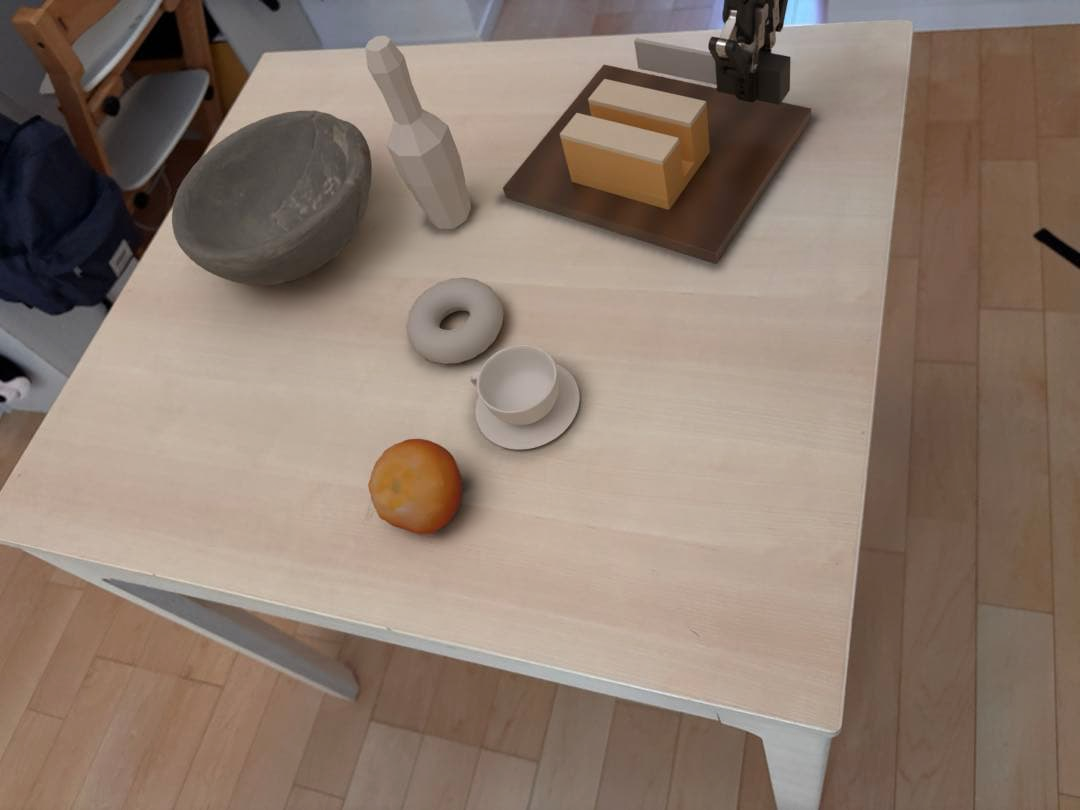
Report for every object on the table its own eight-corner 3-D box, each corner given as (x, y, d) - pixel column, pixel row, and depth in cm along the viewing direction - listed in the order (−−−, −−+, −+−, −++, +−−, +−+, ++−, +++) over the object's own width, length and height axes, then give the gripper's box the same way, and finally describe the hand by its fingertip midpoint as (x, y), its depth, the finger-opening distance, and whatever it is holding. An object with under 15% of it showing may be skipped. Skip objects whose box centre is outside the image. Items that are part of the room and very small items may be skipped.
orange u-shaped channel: (710, 152, 92) (706, 100, 86) (669, 210, 88) (662, 160, 83) (613, 128, 97) (604, 78, 92) (571, 181, 94) (559, 133, 88)
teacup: (595, 372, 81) (586, 342, 78) (558, 462, 77) (547, 435, 73) (500, 354, 85) (487, 325, 81) (460, 439, 81) (444, 412, 77)
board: (810, 119, 93) (811, 108, 92) (716, 263, 85) (715, 253, 84) (605, 74, 105) (603, 64, 104) (505, 197, 97) (502, 187, 96)
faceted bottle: (413, 226, 98) (332, 58, 80) (445, 188, 100) (373, 17, 82) (456, 241, 95) (382, 71, 77) (488, 202, 97) (423, 27, 79)
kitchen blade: (790, 90, 88) (790, 56, 85) (779, 105, 87) (780, 71, 84) (644, 60, 96) (639, 28, 92) (633, 74, 95) (628, 42, 91)
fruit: (495, 457, 77) (446, 457, 70) (468, 540, 78) (417, 548, 71) (424, 427, 80) (371, 424, 73) (399, 506, 81) (344, 511, 74)
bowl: (263, 167, 110) (222, 103, 102) (421, 172, 103) (391, 103, 94) (178, 309, 99) (124, 249, 91) (348, 326, 92) (306, 263, 84)
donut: (525, 309, 88) (448, 280, 92) (518, 287, 85) (438, 259, 89) (472, 384, 84) (393, 351, 88) (462, 364, 81) (381, 331, 85)
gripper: (754, -25, 71) (757, 142, 85) (826, -118, 76) (817, 54, 90) (673, -37, 74) (688, 125, 88) (746, -125, 79) (750, 41, 93)
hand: (753, 88), depth 89 cm, fingers closed on kitchen blade, 2 cm apart
